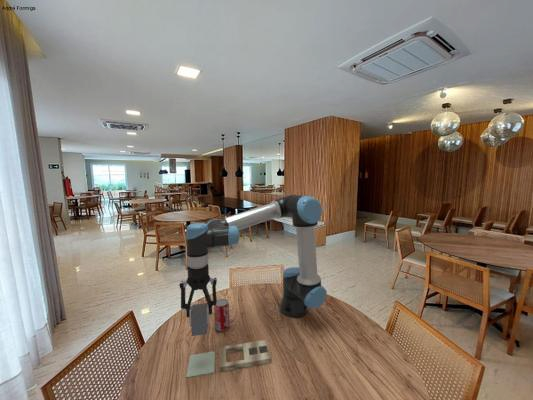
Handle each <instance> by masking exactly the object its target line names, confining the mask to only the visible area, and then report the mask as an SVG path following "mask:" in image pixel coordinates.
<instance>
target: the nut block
mask: <svg viewBox="0 0 533 400" xmlns="http://www.w3.org/2000/svg"><path fill="white" fill-rule="evenodd" d="M191 306H192V311H191V330H190V331H191V336H192V337H193V336H201V335H208V328H209V324H207V302H205V303H196V304H192V305H191Z"/></svg>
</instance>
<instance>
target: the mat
mask: <svg viewBox="0 0 533 400" xmlns="http://www.w3.org/2000/svg"><path fill="white" fill-rule="evenodd" d="M215 359H216V351H209V352H202V353H196V354H195V353H194V354H189V358H188V364H187V370H186V374H185V375H186V376H185V378H186V379H188V378H189V379H190V378H194V377H199V376H200V377H201V376H205V375H210V374H212V375H213V374H214V373H215V364H216V363H215Z"/></svg>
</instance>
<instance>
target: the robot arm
mask: <svg viewBox="0 0 533 400" xmlns="http://www.w3.org/2000/svg"><path fill="white" fill-rule="evenodd" d="M322 215H323V207H322V205H321V202H320V201H319V200H318V199H316V197H312V196H308V195H301V194H300V195H299V194H288V195H285V196H282V197H280V198H277V199H274V200H272V201H270V203H268V204H265V205H261V206H258V207H255V208H252V209H249V210H246V211H243V212H239V213H236V214H233V215H229V216H226V217H224V218H221V219H211V220H208V221H207V223H205V222H194V223H190V224H189V225H187V226H186V237H185V239H186V252H187V253H186V263H187V278H186V279H185V280H180V283H179V285H178V286H179V289H180V308H181V310H186V312H185V313H186V318H189V327H191V311H192V306H193V305H192V302H193V301H192V300H193V296H194V294H195V291H198V290H199V291H200V290H202V293H203V295H204V297H205V301H206V303H207V324H208V325H210V315H212V314H213V306H214V305H216V304H217V300H218V299H217V288H216V287H217V283H218V282H217V281H218V279H217V277H214V278H212V277H211V276H210V273H209V272H210V271H209V270H210V269H209V266H210V265H209V249H212V248H213V249H214V248H220V247H229V246H234V245H237V244H238V243H239V241H240V230H241V231H242V230H244V229H247V228H250V227H253V226H255V225H258V224H260V223H264V222H267V221H269V220H273V219H275V218H276V219H281V218H291V220H292V227H293V228H295V230H296V245H297V246H296V247H297V258H298V267H297V266H296V267H295V266H292V267H288V268H285V269H284V270H283V272H282V278H283V279H282V286H283V287H282V289H283V290H282V297H281V299H280V303H279V310H280V312H281V313H282V314H283V315H284V316H286V317H289V318H301V317H303V316H305V315H306V314H307V313H308V309H311V310H315V309H319V308H320V307H321V306H323V304H324V303H325V301H326V299H327V297H328V296H327V295H328V292H327V290H326V288H325V287H324V286H323V285H322V278H321V276H320V275H319V274H318V263H317V262H318V261H317V244H316V232H315V231H316V230H315V228H316V227H317V226H318V223H319V221H320V219H321V217H322ZM209 283H210V285H211V291H212V299H211V295H210V292H209V290H208V284H209ZM187 285H188V287H190V288H191V290H190V293H189V297H188V301H187V303H186V287H187Z"/></svg>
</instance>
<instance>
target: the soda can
mask: <svg viewBox="0 0 533 400" xmlns="http://www.w3.org/2000/svg"><path fill="white" fill-rule="evenodd" d="M213 306H214V307H213V309H214V310H213V312H214V313H213V314H214V329H216V331H218V332H225V331H227V330H228V328H229V327H230V323H231V322H230V304H229V302H228V299H225V298H220V299H217V304H216V305H213Z"/></svg>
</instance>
